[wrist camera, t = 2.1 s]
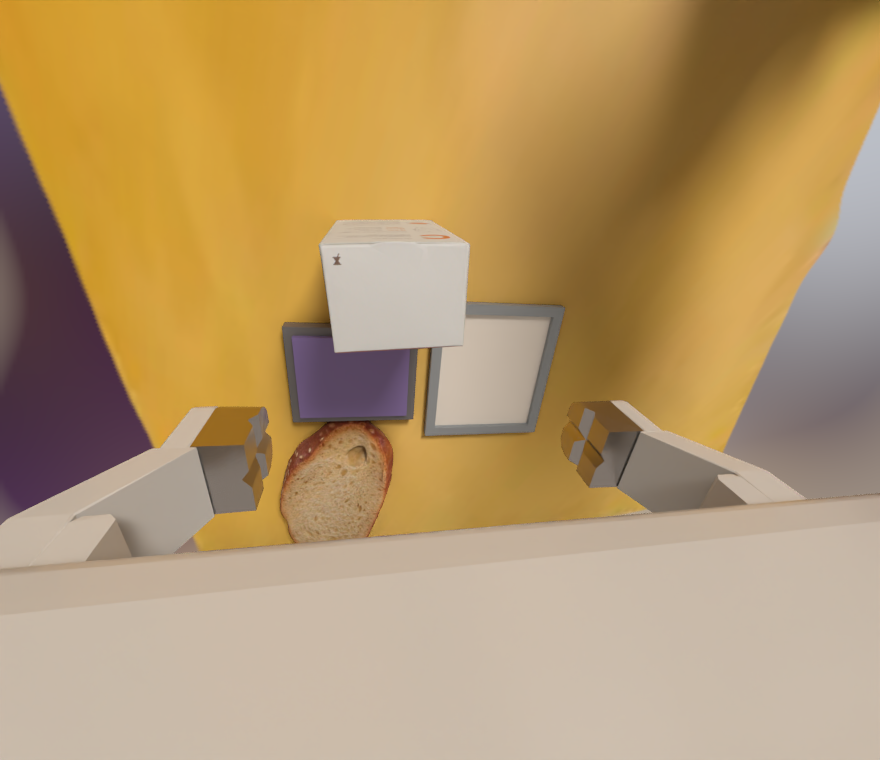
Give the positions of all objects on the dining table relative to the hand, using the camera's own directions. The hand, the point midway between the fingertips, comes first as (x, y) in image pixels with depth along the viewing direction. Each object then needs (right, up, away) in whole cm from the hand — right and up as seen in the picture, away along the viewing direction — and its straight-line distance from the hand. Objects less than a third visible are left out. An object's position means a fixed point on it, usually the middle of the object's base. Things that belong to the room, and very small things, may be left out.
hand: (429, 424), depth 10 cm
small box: (-4, +12, +22) cm, 26 cm away
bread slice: (-11, -12, +34) cm, 38 cm away
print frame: (+6, +2, +29) cm, 30 cm away
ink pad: (-8, +2, +26) cm, 28 cm away
